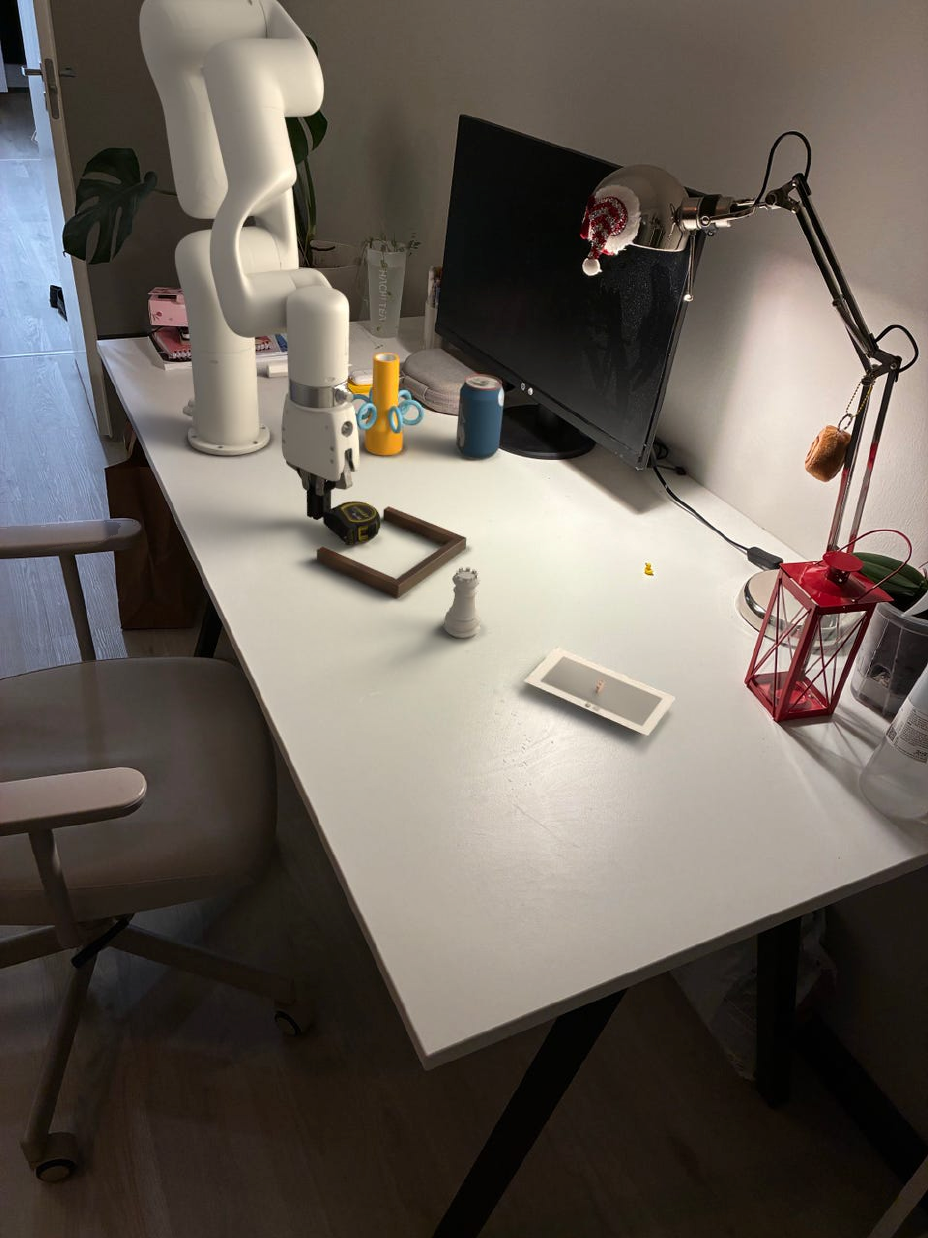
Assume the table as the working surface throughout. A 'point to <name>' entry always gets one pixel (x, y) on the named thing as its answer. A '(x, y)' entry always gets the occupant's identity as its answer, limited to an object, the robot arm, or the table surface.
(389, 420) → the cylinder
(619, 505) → the table surface
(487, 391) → the soda can
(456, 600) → the rook chess piece
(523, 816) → the table surface
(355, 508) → the tape measure
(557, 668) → the touchpad
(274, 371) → the marker
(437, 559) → the frame
